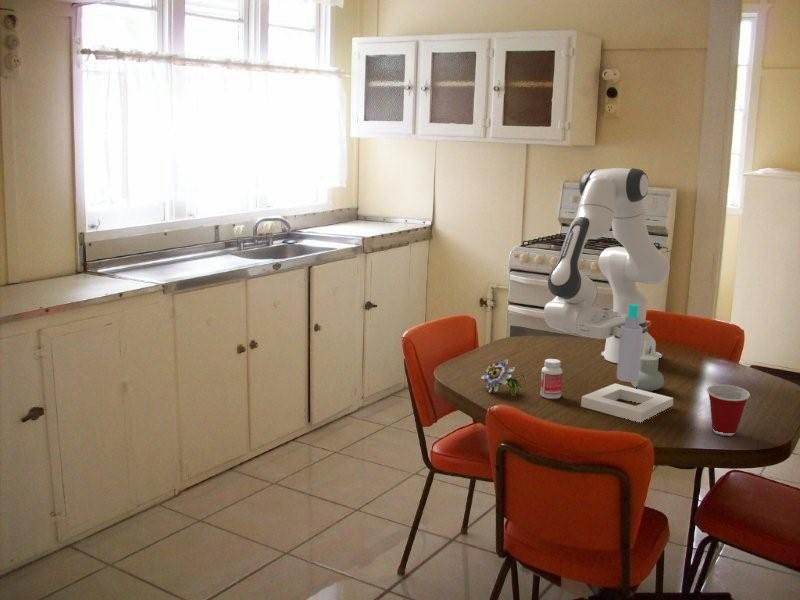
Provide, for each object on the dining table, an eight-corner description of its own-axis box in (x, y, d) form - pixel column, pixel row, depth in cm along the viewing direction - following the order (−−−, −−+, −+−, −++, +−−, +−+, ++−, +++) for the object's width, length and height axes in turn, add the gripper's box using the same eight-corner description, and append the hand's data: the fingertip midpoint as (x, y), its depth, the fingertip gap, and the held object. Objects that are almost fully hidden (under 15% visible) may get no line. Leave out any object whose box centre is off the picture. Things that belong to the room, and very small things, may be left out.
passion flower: (490, 409, 265) (471, 375, 267) (514, 397, 271) (496, 363, 273) (511, 398, 256) (491, 362, 258) (536, 385, 262) (516, 350, 264)
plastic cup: (701, 436, 231) (706, 393, 229) (703, 423, 241) (707, 382, 239) (745, 443, 227) (750, 399, 225) (745, 429, 237) (750, 387, 235)
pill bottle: (565, 397, 261) (567, 361, 259) (550, 400, 258) (552, 364, 255) (550, 391, 266) (553, 356, 264) (535, 394, 263) (538, 359, 261)
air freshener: (665, 394, 267) (668, 362, 265) (638, 394, 266) (641, 362, 264) (652, 383, 278) (655, 353, 276) (627, 383, 277) (630, 352, 275)
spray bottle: (630, 383, 247) (636, 308, 243) (612, 378, 252) (618, 304, 247) (642, 379, 251) (648, 305, 247) (624, 375, 256) (630, 301, 251)
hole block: (614, 392, 267) (615, 383, 266) (672, 407, 254) (673, 397, 253) (580, 406, 253) (581, 396, 253) (640, 422, 240) (641, 412, 240)
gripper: (575, 317, 250) (618, 326, 240) (611, 307, 264) (653, 315, 255) (573, 338, 251) (616, 348, 242) (610, 327, 265) (651, 336, 256)
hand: (635, 331), depth 248 cm, fingers closed on spray bottle, 4 cm apart
